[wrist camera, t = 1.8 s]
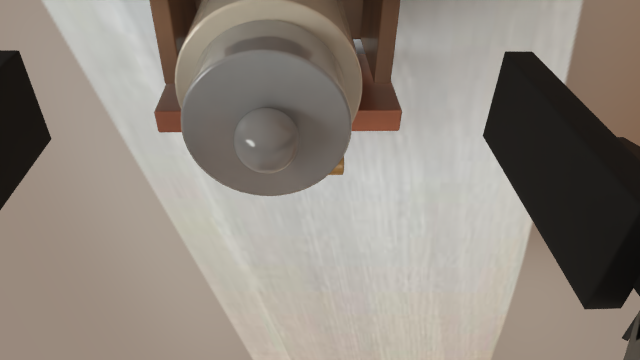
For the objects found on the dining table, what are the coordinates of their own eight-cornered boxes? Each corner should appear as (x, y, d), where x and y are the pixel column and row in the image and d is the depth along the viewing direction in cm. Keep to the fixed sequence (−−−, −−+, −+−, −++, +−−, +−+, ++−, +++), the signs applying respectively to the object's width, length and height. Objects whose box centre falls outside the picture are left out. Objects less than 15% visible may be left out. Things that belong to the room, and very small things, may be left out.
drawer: (373, 132, 32) (390, 197, 27) (192, 133, 32) (172, 200, 26) (412, -242, 21) (455, -256, 16) (129, -251, 20) (72, -270, 15)
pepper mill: (221, -98, 23) (123, 50, 9) (331, -96, 23) (392, 51, 10) (231, 13, 26) (168, 243, 13) (328, 14, 26) (369, 239, 13)
